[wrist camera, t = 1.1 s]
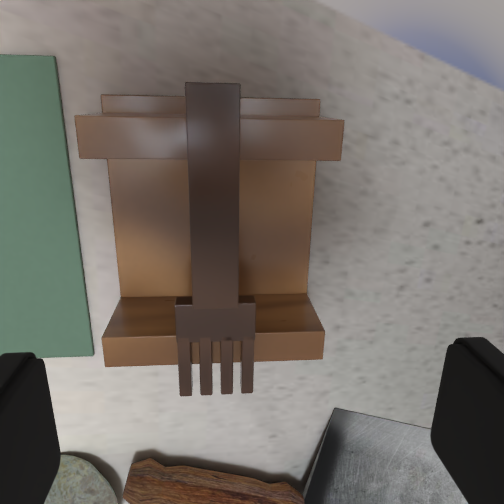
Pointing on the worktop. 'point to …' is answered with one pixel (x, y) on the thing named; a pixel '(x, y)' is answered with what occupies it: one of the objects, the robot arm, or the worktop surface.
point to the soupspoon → (79, 484)
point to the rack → (178, 221)
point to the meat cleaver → (318, 472)
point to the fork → (214, 242)
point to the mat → (38, 218)
